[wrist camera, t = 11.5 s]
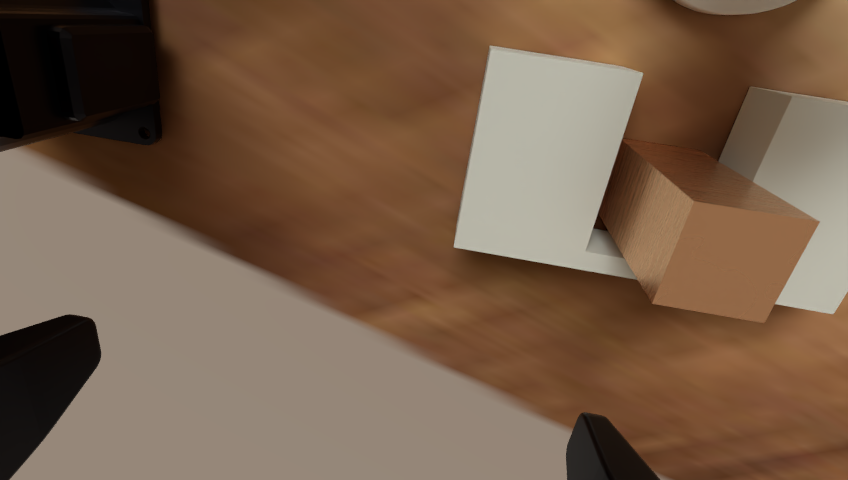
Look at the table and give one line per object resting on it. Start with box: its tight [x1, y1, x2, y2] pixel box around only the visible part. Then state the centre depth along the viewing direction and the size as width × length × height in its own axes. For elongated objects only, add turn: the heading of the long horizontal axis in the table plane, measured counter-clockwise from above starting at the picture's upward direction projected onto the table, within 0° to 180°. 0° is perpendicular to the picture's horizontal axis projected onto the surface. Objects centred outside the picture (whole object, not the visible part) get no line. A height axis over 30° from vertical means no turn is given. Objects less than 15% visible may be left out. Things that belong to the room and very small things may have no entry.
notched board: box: [454, 46, 848, 314], centre depth 17 cm, size 14×7×2 cm, turn 82°
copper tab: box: [598, 138, 820, 323], centre depth 15 cm, size 3×3×7 cm
